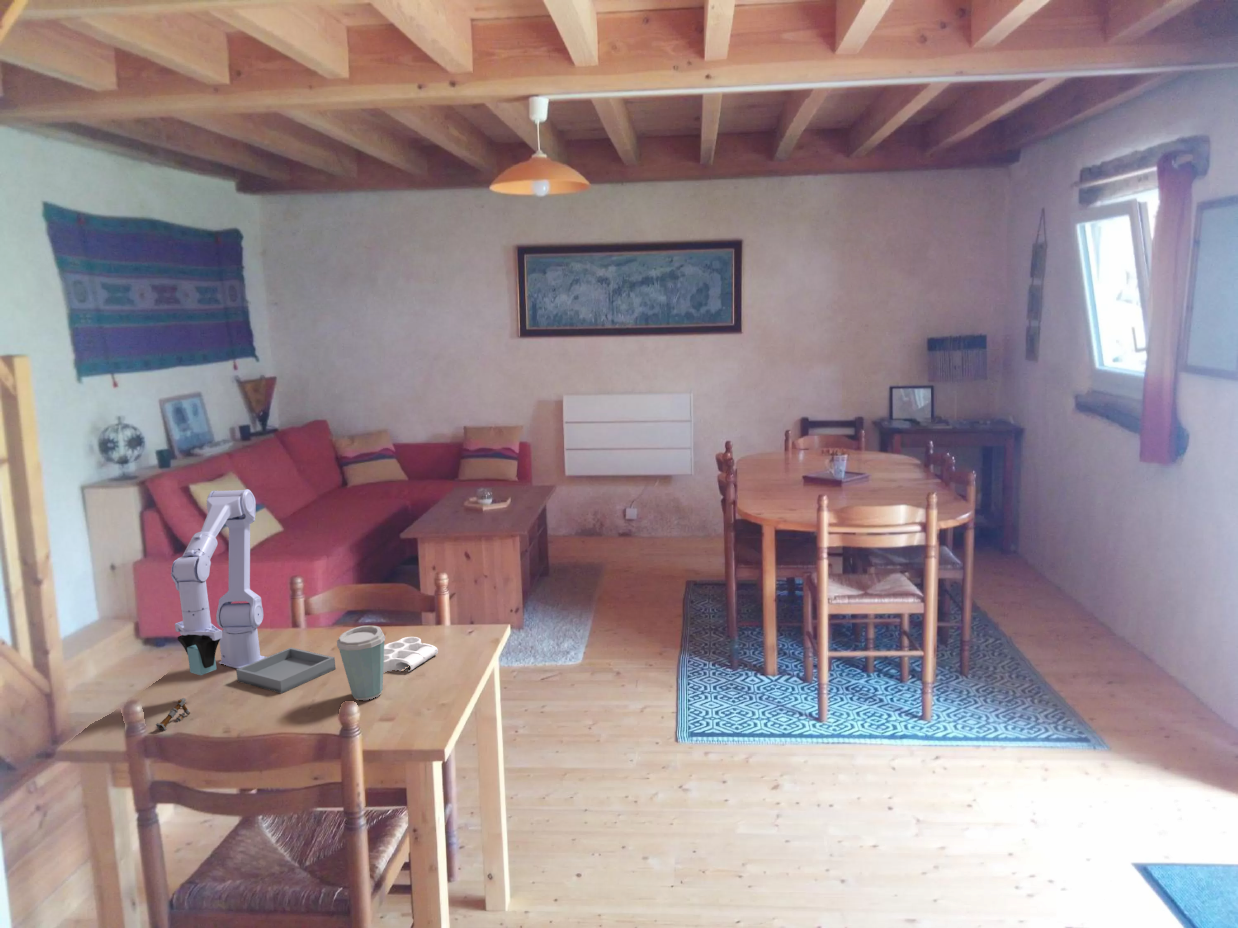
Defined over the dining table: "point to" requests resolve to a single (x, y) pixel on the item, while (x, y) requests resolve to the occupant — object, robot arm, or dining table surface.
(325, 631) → the dining table surface
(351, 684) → the disposable coffee cup
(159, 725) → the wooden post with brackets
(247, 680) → the tray
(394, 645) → the white muffin tin
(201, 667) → the block
